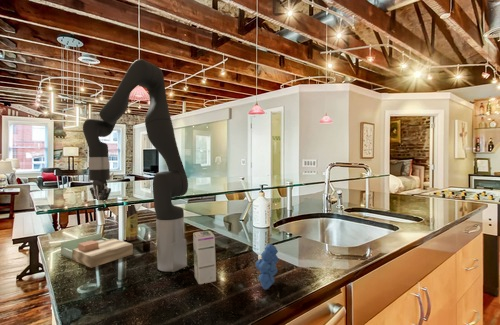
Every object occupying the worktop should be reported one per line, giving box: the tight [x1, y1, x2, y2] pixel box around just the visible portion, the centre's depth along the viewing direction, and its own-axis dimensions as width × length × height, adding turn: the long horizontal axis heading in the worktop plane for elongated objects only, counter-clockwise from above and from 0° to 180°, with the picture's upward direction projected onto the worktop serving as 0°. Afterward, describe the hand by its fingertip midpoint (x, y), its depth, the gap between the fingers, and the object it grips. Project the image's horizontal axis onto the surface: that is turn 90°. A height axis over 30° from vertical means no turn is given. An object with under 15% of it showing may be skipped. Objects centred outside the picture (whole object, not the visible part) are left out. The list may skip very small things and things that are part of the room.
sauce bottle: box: [126, 205, 139, 242], centre depth 131 cm, size 7×6×20 cm
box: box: [60, 232, 110, 261], centre depth 116 cm, size 10×16×5 cm, turn 145°
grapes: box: [254, 243, 280, 290], centre depth 83 cm, size 12×7×12 cm, turn 157°
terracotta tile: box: [78, 240, 99, 251], centre depth 108 cm, size 5×5×2 cm
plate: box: [72, 238, 134, 269], centre depth 109 cm, size 14×16×4 cm
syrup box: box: [192, 230, 217, 285], centre depth 88 cm, size 6×6×14 cm
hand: (100, 210), depth 116 cm, fingers closed
